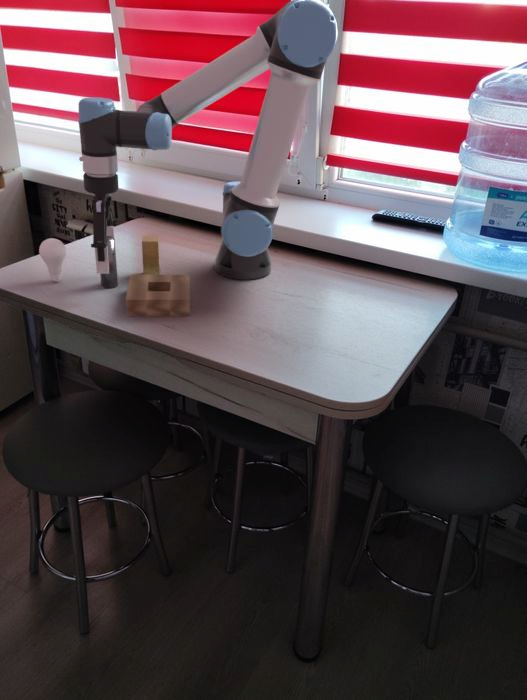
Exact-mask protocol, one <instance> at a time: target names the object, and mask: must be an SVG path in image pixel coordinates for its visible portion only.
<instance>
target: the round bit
mask: <svg viewBox="0 0 527 700" xmlns="http://www.w3.org/2000/svg"><path fill="white" fill-rule="evenodd" d="M115 240H116V239H115V236H114V237H112V236H107V237H106V244H107V247H108V263H109V274H100V284H101V288H103V289H107V290H108V289H115V288H117V287H118V286H119V279H118V265H117V264H118V263H117V253H116V251H117V250H116V241H115ZM98 242H99V241H98Z"/></svg>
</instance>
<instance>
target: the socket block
mask: <svg viewBox="0 0 527 700" xmlns="http://www.w3.org/2000/svg"><path fill="white" fill-rule="evenodd" d="M126 291H127V293H126V297H125V308H126V316H128V317H132V316H135V317H137V316H138V317H141V316H142V317H144V316H145V317H147V316H148V317H150V316H151V317H152V316H159V317H161V316H162V317H163V316H164V317H167V316H172V317H174V316H175V317H178V316H180V317H181V316H182V317H184V316H185V317H186V316H189V317H190V315H191V314H190V313H191V311H190V310H191V308H190V307H191V305H190V303H191V302H190V301H191V300H190V299H191V298H190V297H191V296H190V295H191V293H190V274H160V275H153V274H139V273H138V274H137V273H136V274H135V273H134V274H130V277H129V282H128V287H127V290H126Z"/></svg>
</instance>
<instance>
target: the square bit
mask: <svg viewBox="0 0 527 700" xmlns="http://www.w3.org/2000/svg"><path fill="white" fill-rule="evenodd" d="M141 254H142V270H143V274H153V275H161V262H160V260H161V259H160V258H161V257H160V256H161V255H160V236H159V235H142V238H141Z"/></svg>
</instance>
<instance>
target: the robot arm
mask: <svg viewBox="0 0 527 700" xmlns="http://www.w3.org/2000/svg"><path fill="white" fill-rule="evenodd" d="M337 40H338V24H337V20H336V18H335V14H334V13H333V12H332V10H331V8H330V7H329V6H328V5H326V4H325V2H323V1H322V0H290V1H288V2H287V3H286V4H285V5H284V6H283V7H281V8H280V9H279V10H278V11H277V12H276V13H275V14H274V15H273V16H271V17H270V18H268V19H267V20H266V21H264V22H263V23H262V24H260V25H258V26H257V27H256V31H255V33H254V34H253V35H252V36H250V37H249V38H247V39H246V40H244V41H242V42H241V43H239V44H238V45H236V46H234V47H233V48H231V49H229V50H228V51H226V52H225V53H223V54H222V55H219V57H217V58H215V59H214V60H212V61H210V62H209V63H207V64H206V65H204V66H203V67H201V68H199V69H198V70H196V71H194V72H192V73H191V74H190V75H188V76H187V77H185V78H183V79H182V80H180V81H179V82H177V83H175V84H173V86H170V87H169V88H167V89H166V90H165V91H163V92H161V93H160V94H159V95H157V96H155V97H154V98H152V99H150V100H147V101H145V102H143V103H142V104H141V105H139V107H138V108H137V110H136V111H133V110H131V111H130V110H121V109H120V110H119V109H116V107H115V102H114V101H113V100H112V99H110V98H105V97H104V98H103V97H96V96H95V97H93V96H92V97H84V98H81V99H80V100H79V102H78V120H77V121H78V127H79V128H78V129H79V137H80V149H81V156H79V158H78V160H79V161H80V162H82V171H83V172H84V174H83V177H82V178H83V179H82V180H83V189H84V191H86V192H87V193H89V194H93V195H94V196H93V199H92V201H91V202H92V205H91V206H92V222H93V223H92V225H93V226H92V227H93V229H92V232H93V233H92V235H93V236H92V239H93V240H92V242H93V243H91V244H90V247H91V248H92V249H93V248H94V254H95V267H96V268H95V269H96V274H97V275H98V274H109V263H108V247H107V244H106V237H107V236H112V237H114V238H115V228H114V227H115V226H117V220H115V215H114V210H113V209H114V207H113V198H112V194H114V193H116V192H118V191H119V175H118V172H119V171H118V168H119V167H118V153H117V148H128V149H130V148H131V149H141V150H142V149H143V150H152V151H160V150H161V151H163V150H165V151H166V150H169V149H170V148H171V146H172V139H173V138H172V137H173V136H172V135H173V134H172V133H173V131H172V130H173V128H174V127H176V126H177V125H179V124H180V123H182V122H184V121H185V120H187V119H188V118H191V117H192V116H194V115H196V113H199V112H200V111H202V110H203V109H205V108H207V107H208V106H210V105H211V104H213V103H215V102H216V101H218V100H220V99H222V98H224V97H225V96H226V95H228V94H230V93H231V92H233V91H235V90H236V89H238V88H240V87H242V86H243V85H245V84H246V83H248V82H250V81H251V80H253V79H255V78H256V77H258V76H260V75H261V74H263V73H265V72H266V71H268V70H270V73H271V74H270V76H269V80H268V81H269V82H268V83H267V84H268V85H267V86H266V87H267V89H266V92H265V96H264V99H263V102H262V104H261V109H260V112H259V116H258V120H257V124H256V127H255V130H254V133H253V137H252V140H251V144H250V148H249V150H248V155H247V158H246V162H245V165H244V169H243V172H242V176H241V179H240V181H229V182H226V183H225V184H224V186H223V188H222V191H223V192H222V197H223V198H222V216H221V217H222V218H221V219H222V221H221V225H220V235H221V238H222V239H221V243H220V246H219V249H218V251H217V254H216V256H215V261H214V263H215V264H214V269H215V270H216V272H217V273H218V274H219V275H221V276H223V277H227V278H231V279H235V280H256V279H260V278H264V277H266V276H268V275H270V273H271V272H272V259H271V255H270V251H269V248H268V247H269V246H270V244H271V243H272V239H273V237H274V228H273V227H274V224H275V220H276V218H277V214H278V211H279V207H280V203H281V202H280V200H279V199H278V197H277V192H278V189H279V187H280V183H281V179H282V176H283V173H284V171H285V168H286V164H287V160H288V158H289V154H290V151H291V148H292V146H293V142H294V139H295V136H296V133H297V131H298V130H297V129H298V127H299V123H300V119H301V118H302V114H303V110H304V108H305V105H306V100H307V98H308V95H309V92H310V89H311V87H312V86H314V85H315V84H317V83H318V82H319V81H320V80H321V78H322V75H323V72H324V69H325V66H326V63H327V60H328V58H330V56H331V55H332V53H333V51H334V49H335V47H336V44H337ZM98 241H99V242H98Z"/></svg>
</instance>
